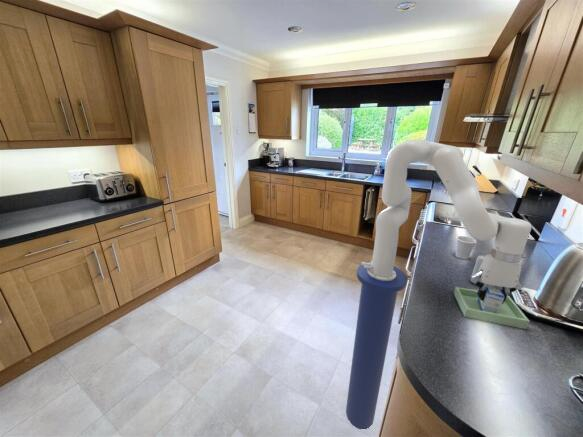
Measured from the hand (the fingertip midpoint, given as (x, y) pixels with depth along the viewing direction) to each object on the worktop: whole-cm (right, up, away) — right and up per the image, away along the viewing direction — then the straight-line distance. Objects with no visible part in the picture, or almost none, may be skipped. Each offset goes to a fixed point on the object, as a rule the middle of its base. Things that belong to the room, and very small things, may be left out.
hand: (490, 299), depth 87 cm
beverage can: (+9, +1, +18) cm, 20 cm away
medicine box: (0, -4, +1) cm, 4 cm away
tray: (0, -4, +2) cm, 5 cm away
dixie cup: (+18, +9, +40) cm, 44 cm away
